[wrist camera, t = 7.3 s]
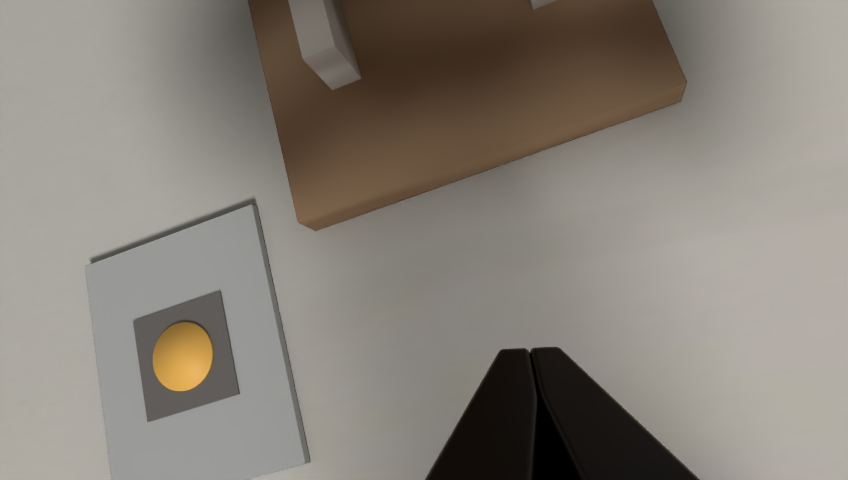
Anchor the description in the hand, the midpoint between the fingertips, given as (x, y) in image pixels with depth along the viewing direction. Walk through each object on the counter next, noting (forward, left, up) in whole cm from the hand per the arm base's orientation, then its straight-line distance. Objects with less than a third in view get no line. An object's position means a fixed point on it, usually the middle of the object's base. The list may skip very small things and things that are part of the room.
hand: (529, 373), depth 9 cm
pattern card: (-2, +14, -12) cm, 19 cm away
